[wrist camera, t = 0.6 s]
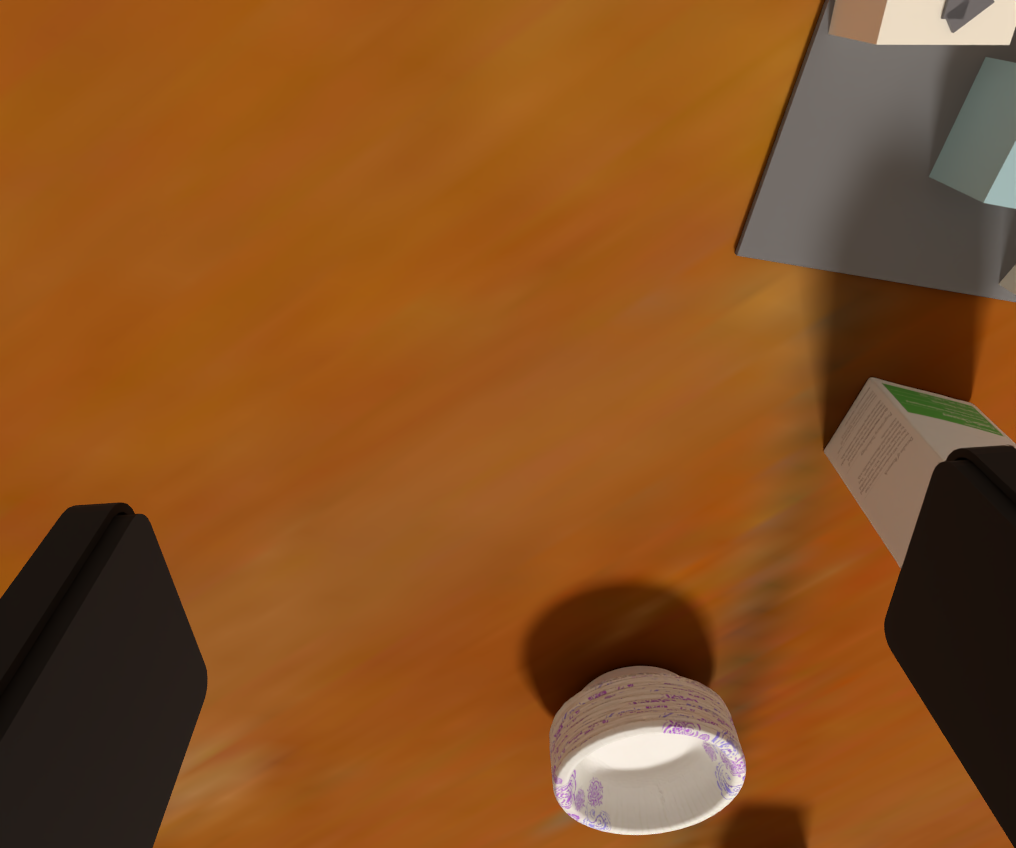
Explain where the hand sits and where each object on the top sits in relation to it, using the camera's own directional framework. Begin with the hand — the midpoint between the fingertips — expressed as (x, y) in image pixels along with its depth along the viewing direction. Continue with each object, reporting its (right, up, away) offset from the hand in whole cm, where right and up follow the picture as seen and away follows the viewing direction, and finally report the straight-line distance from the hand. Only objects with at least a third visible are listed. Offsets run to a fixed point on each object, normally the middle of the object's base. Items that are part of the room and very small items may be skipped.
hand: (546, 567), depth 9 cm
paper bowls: (+10, -22, +55) cm, 60 cm away
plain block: (+26, +17, +30) cm, 43 cm away
